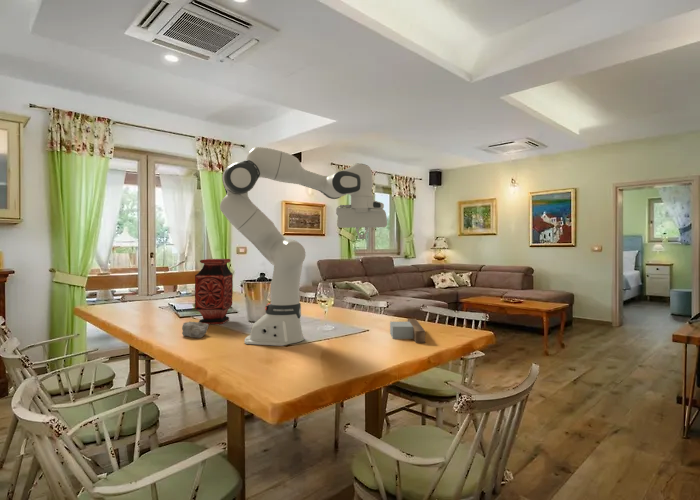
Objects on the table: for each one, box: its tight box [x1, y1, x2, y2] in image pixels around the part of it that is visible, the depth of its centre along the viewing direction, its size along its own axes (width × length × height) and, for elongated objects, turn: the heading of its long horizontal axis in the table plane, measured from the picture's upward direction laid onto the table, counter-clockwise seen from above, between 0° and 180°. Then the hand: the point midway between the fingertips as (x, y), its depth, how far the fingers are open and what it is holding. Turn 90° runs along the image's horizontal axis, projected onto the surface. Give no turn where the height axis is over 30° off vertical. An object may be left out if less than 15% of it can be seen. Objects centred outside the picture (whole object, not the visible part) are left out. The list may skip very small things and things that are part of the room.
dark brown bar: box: [407, 318, 426, 344], centre depth 162 cm, size 4×24×4 cm, turn 179°
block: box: [389, 321, 414, 340], centre depth 162 cm, size 8×10×5 cm
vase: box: [194, 258, 234, 325], centre depth 191 cm, size 14×14×30 cm
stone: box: [181, 321, 209, 339], centre depth 163 cm, size 10×8×6 cm
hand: (362, 238), depth 163 cm, fingers closed
